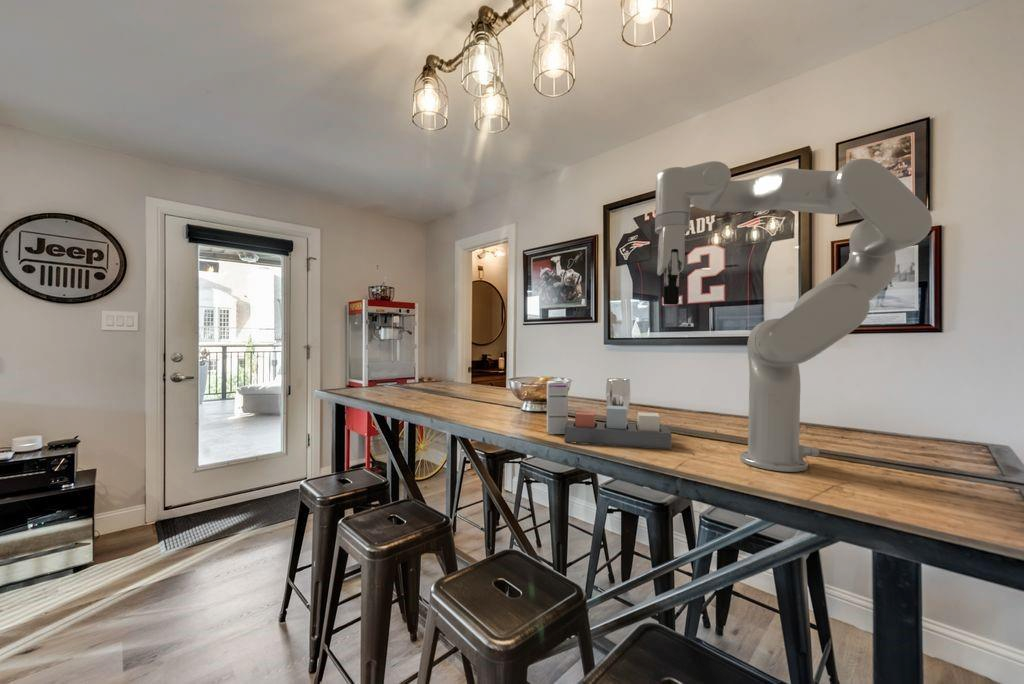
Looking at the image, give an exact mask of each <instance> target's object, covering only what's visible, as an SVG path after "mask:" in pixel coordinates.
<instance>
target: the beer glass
mask: <svg viewBox="0 0 1024 684" xmlns="http://www.w3.org/2000/svg"><path fill="white" fill-rule="evenodd" d="M630 380H631V379H628V378H614V377H613V378H611V377H610V378H607V379H606V384H605V385H606V387H605V399H606V407H607V406H626V408H627V415H628V413H629V407H630V402H631V381H630Z"/></svg>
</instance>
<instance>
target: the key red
mask: <svg viewBox="0 0 1024 684" xmlns="http://www.w3.org/2000/svg"><path fill="white" fill-rule="evenodd" d="M574 416H575V417H574V418H575V419H574V421H575V426H576V427H592V428H595V422H596V411H586V410H576V411H575V415H574Z"/></svg>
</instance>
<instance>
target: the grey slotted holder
mask: <svg viewBox="0 0 1024 684" xmlns="http://www.w3.org/2000/svg"><path fill="white" fill-rule="evenodd" d="M637 428H638V423H637V424H634V423H627V429H616V428H606V422H604V421H603V422H601V421H595V428H592V427H576V426H575V420H568V422H567V423H566V425H565V435H564V438H563V439H564V442H576V443H575V444H579V443H588V444H587V445H593V444H602V445H601V446H608V445H616V446H615V447H623V446H630V447H629V448H637V447H647V448H646V449H652V448H657V449H656V450H666V449H669V450H668V451H672V432H671V431H670V429H669V428H668V426H667V425H660V432H659V431H643V430H637Z"/></svg>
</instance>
